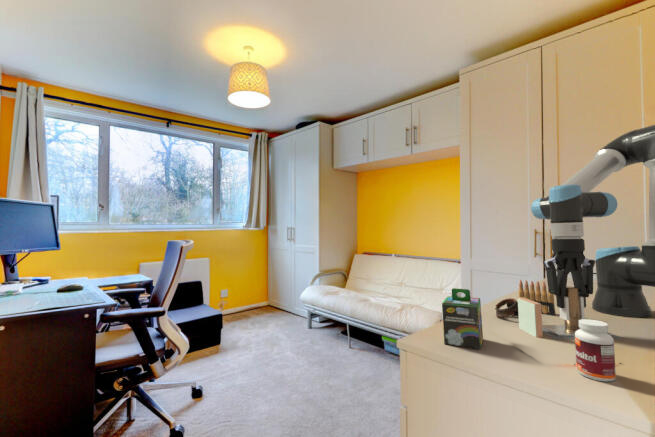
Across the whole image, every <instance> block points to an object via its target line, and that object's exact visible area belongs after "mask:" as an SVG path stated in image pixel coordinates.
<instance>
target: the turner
mask: <svg viewBox="0 0 655 437" xmlns="http://www.w3.org/2000/svg"><path fill="white" fill-rule="evenodd" d="M565 297H568V301H569V317H570V321H567V320H564V319H563V321H564V324H547V325H546V324H545V325H543V324H542V329H543V330H545V331H547V332H550V333H552V334H554V335H556V336H558V337H575V332H576V331H577V330H579V329H580V327H579V320H580V307H579V290H578V288H577V287H574V286H568V285H566V293H565ZM607 334H609V335H610V332H608V333H607Z"/></svg>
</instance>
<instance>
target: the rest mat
mask: <svg viewBox="0 0 655 437" xmlns="http://www.w3.org/2000/svg"><path fill="white" fill-rule="evenodd" d="M542 331H543V335H546V336H548V337H549V338H552V339H554V340H556V341H566V340H567V341H568V340H569V341H570V340H571V341H572V340H573V341H575V337H558V336H556V335H554V334H552V333H550V332H547V331H545V330H543V329H542ZM607 333H610V332H609V331H608V332H607ZM610 336H612V338H613V340H616V339H617V340H622V339H623V340H625V339H626V338H624V337H622V336H619V335H617V334H614V333H610Z"/></svg>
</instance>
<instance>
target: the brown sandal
mask: <svg viewBox="0 0 655 437" xmlns="http://www.w3.org/2000/svg"><path fill="white" fill-rule="evenodd" d="M504 306H506V308H503V309H501V308H502V307H504ZM494 310H495V316H496V317H497V318H507V317H516V316H519V314H518V300H517V299H516V298H511V297H510V298H504V299H503V300H501V301H499V302H498V303H496V304H495V308H494Z"/></svg>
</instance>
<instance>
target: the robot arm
mask: <svg viewBox="0 0 655 437" xmlns="http://www.w3.org/2000/svg"><path fill="white" fill-rule="evenodd" d="M639 163H642V165H643V166H644V167H646V168H647V169H648V170H649V172H648V173H649V176H648V178H649V179H648V182H649V183H648V240H646V241H645V242H643V243H642V244H641V249H640V247H639V246H636V245H635V246H633V245H631V246H619V247H618V246H617V247H603V248H598V249H597V250H596V251H595V259H591V258H590V259H589V258H587V257H586V256H585V254H584V252H585V250H586V246H585V244H586V243H585V239H584V238H582V237H584V236H585V231H584V218H603V217H609V216H611V215H613V214H614V213H615V212H616V210H617V208H618V201H617V199H616V197H615V196H614V195H613V194H611V193H609V192H603V191H593V190H594V189H595V188H597V187H598V186H599V185H600V184H602V182H604V181H605V180H606V179H607V178H608V177H610V176H611V175H612V174H614V173H617V172H619V171H621V170H623V169H624V168H625V167H628V166H631V165H635V164H639ZM530 210H531V214H532V216H534V217H535V218H536V219H540V220H550V221H549V222H550V236H551V237H552V239H551V240H550V241H551V250H552V253H553V254H552V256H551V258H549V259H544V260H543V261H542V263H543V265H544V267H545V274H546V282H547V289H548V291H549V293H551V294H553V295H554V296H555V297H556V306H557V308H559V318H560V319H561V320H563V321H564V320H567V321H570V317H569V301H568V297H565V293H566V286H568V285H567V283H568V276H569V274H570V273H571V274H570V276H571V278H572V282H573V287H577V288H578V290H579V307H580V320H581V319H586V317H585V315H586V314H585V308H586V307H587V298H589V297H590V295H593V294H594V267H595V272H596V273H595V274H596V285H597V288H596V291H595V295H594V297H593V300H592V302H591V305H592V309H593V310H595V311H597V312H600V313H602V314H603V313H605V314H609V315H615V316H623V317H632V318H645V317H646V318H647V317H651V316H652V309H651V306H650V305H649V303H648V302H647V298H646V296H645V295H644V292H643V286H645V287H652V288H655V124H653V125H649V126H646V127H641V128H639V129H638V128H637V129H633V130H630V131H628V132H626V133H624V134H621V135H619V136H617V138H615V139H613V140H612V141H610V142H609V143H607V144H605V146H603V147H601V148H600V149H599V150H598V151H597V152H595V154H594V155H593V158H592V160H591V161H589V162H588V163H587V164H585V165H584V166H583V167H582V168H581V169H579V171H577V172H576V173H574V174H573V175H572V176H571V177H569V179H567V180H566V181H565V182H563V183H562V184H561V185H555V186H552V187H550V188H549V190H548V195H547V196H546V197H540V198H536V199H535V200H534V201H533V202H532V203H531V206H530Z"/></svg>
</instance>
